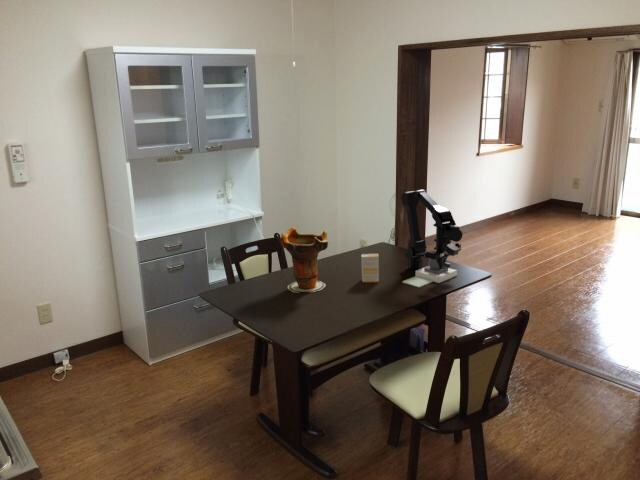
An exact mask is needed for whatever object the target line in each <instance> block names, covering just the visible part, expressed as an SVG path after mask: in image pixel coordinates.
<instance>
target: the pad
mask: <svg viewBox="0 0 640 480" xmlns="http://www.w3.org/2000/svg"><path fill="white" fill-rule="evenodd" d="M401 282H402V284H406V285H410V286H413V287H414V288H415V287H416V288H419V289H420V288H421V287H424V286H427V285H429V284H430V283H433V282H434V281H431V280H427V279H424V278H420V277H417V276H413V277H410V278H407V279H405V280H403V281H401Z"/></svg>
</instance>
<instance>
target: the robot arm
mask: <svg viewBox="0 0 640 480" xmlns="http://www.w3.org/2000/svg"><path fill="white" fill-rule="evenodd" d="M400 200H401V204H402V206H403V208H404V209H405V210H406V217H407V223H408V230H409V238H410V239H409V241H408V244H407V245H408V246H407V250H406V251H405V252H404V254H403V255H404V257H405V258H406V259H407V266H406V267H405V269H407V270H410V271H414V272H416V271H417V270H419V269H422V268H424V267H423V260H422V258H423V257H424V258H426V259H433V260H436V261H437V263H438V265H439V267H440V269H443V267H444V265H445V262H446V263H447V259H448V258H449V257H450V256H452V257H454V256H457V255H459V252H460V251H461V250H462V246H461V245H462V244H461V243H460V241H461V240H462V238H463V231H462V230H461V229H460V226H457V223H456V221H455V219H454V216H453V214H452V212H451V211H450V210H449V209H448V208H446V207H445V206H441V205H439V204H438V202H436V201H435V200H434V199H433V198H432V197H431V196H430V195H429V194H428V193H427V191H426V190H425V189H418V190H417V189H416V190H411V191H405V192H404V191H403V192H402V193H401V196H400ZM419 203H421V205H423V206H424V207H425V208H426V209H427V210H428V211H429V212H430V214H431V218H432V219H433V221H434V222H435V223H434V224H432V226H433V227H435V228H436V229H435V230H436V231H435V234H436V235H435V238H434V239H433V242H435V247H433V250H431V249H430V250H427V244H426V240H425V239H423V238H422V237H421V230H420V224H419V217H418V209H417V208H418V206H419ZM452 241H453V242H455V243H452Z"/></svg>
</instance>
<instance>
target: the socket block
mask: <svg viewBox="0 0 640 480" xmlns="http://www.w3.org/2000/svg"><path fill="white" fill-rule="evenodd" d="M426 267H428V265H427V266H426ZM424 268H425V267H423V268H422V269H419V270H417V271H415V276H417V277H420V278H424V279H427V280H431V281H433V282H435V283H438V284H440V283H442V282H445V281H448V280H450V279H452V278H455V277H456V276H458V270H457V269H455V268H454V269H453V268H448V271H445V272H443V273H440V274H434V273H431V272H427V271H424ZM415 276H414V277H415Z"/></svg>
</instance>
